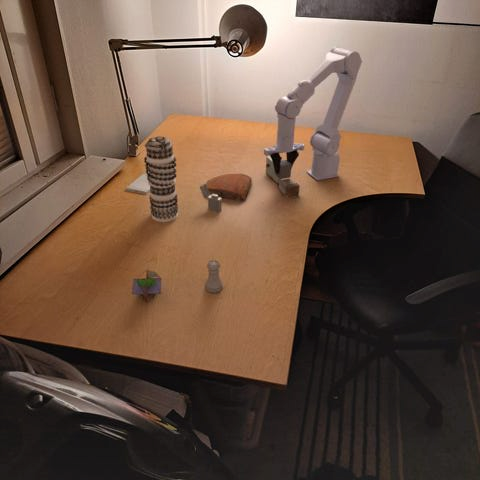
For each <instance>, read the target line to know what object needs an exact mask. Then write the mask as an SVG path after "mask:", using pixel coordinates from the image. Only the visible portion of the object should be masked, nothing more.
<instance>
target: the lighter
mask: <svg viewBox="0 0 480 480" xmlns="http://www.w3.org/2000/svg"><path fill="white" fill-rule="evenodd" d="M199 189H200V191H201V193H202V196H203V198H205V199H206V198H207V205H208V206H207V208H208V210H210V211H214V212H218V213H220V212H221V211H222V197H218V195H216V194H212V195H211V194H210V193H209V191H208V188H207V186H206V183H203V184H201V185H199Z"/></svg>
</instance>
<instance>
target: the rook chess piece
mask: <svg viewBox="0 0 480 480" xmlns="http://www.w3.org/2000/svg"><path fill="white" fill-rule="evenodd" d="M220 267H221V264H220V262H219V261H218V260H217V259H215V260H214V259H211V260H208V263H207V264H206V268H208V269H207V273H208V277H207V279H206V281H205V284H204V288H205V290H206V291H207V292H209V293H211V294H215V293H219V292H221V290H223V287H224V285H223V281H222V279H221V278H220V274H219V273H220Z"/></svg>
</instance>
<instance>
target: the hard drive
mask: <svg viewBox="0 0 480 480" xmlns="http://www.w3.org/2000/svg"><path fill="white" fill-rule="evenodd" d="M147 178H148V177H147V173H146V172H144V173H142V174H141V175H139V177H137V178H136V179H135V180H134V181H132V182H131V183H130V184H129V185H128V186H126V187H125V191H128V192H132V193H133V192H134V193H139V194H142V195H143V194H144V195H148V194H150V185H149V184H148V180H147Z"/></svg>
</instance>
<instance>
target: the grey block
mask: <svg viewBox="0 0 480 480" xmlns="http://www.w3.org/2000/svg"><path fill="white" fill-rule="evenodd" d="M291 165H292V164H291V163H289V162H288V161H287V159H283V160H282V159H281V163H280V171H279V174H277V173H275V175H276V176H277V177H278V178H279V179H281V180H284V179H291V177H292V176H291V173H292V169H291Z"/></svg>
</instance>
